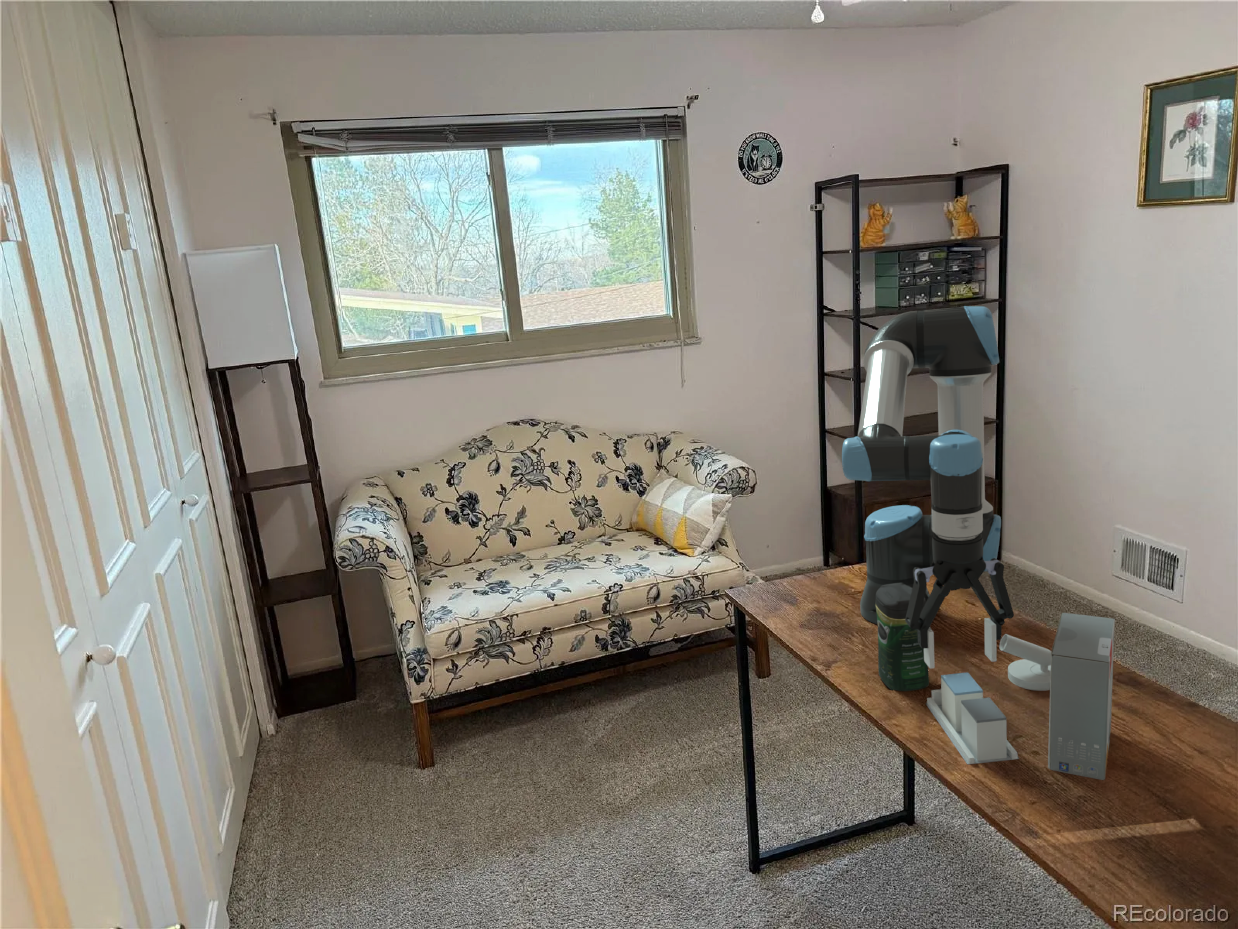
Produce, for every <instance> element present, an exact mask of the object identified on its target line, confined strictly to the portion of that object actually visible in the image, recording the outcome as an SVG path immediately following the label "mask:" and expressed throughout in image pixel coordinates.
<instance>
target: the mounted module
mask: <svg viewBox="0 0 1238 929" xmlns="http://www.w3.org/2000/svg"><path fill="white" fill-rule="evenodd" d="M961 721H962V740H963V742H964V743H965V744H966V746H967V747H968V749H969V750H970V751H971V753H972V754H973V756H974V757H975V758H976V760H977V761H983V760H992V759H1001V758H1007V741H1008V740H1007V717H1006V715H1005V714H1004V712H1002V710H1001V709H1000V708H999V707H998V706H997V704H996V703H995V702H994V701H993V700H992V698H991V697H983V698H979V699H970V700H961Z"/></svg>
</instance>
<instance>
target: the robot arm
mask: <svg viewBox="0 0 1238 929" xmlns="http://www.w3.org/2000/svg"><path fill="white" fill-rule="evenodd" d="M994 323H995V322H994V317H993V314H992V311H991V310H990V308H988V307H987V306H982V305H981V306H980V305H979V306H978V305H977V306H975V305H974V306H971V305H970V306H966V305H964V306H960V307H959V306H958V307H957V306H956V307H949V308H947V307H946V308H936V309H925V310H910V311H906V312H903V313H900V314H898V315H895V316H894V317H892V318H890V319H889V320H888V321H886V322H884V324H883V325H881V326H880V327H878V329H876V331H875V332H874V333H873V335H872V336H871V337H870V339H869V341H868V343H867V345H866V347H865V349H864V353H863V360H862V362H863V363H862V364H863V367H864V369H865V372H866V377H865V384H864V389H863V397H862V403H861V411H860V417H859V424H858V430H857V436H854V437H847V438H846V439H844V440H843V443H842V448H841V449H842V450H841V465H842V472H843V476H845V479H847V480H849V481H862V482H863V481H865V482H882V481H883V482H884V481H885V482H886V481H889V482H890V481H930V493H931V495H930V497H931V503H930V504H931V514H923V511H922V510H921V508H920V507H918V506H917V505H916V506H915V505H911V504H910V505H908V504H902V505H892V506H887V507H883V508H880V509H878V510H875V511H873V512H872V513H870V514H869V515H868V516H867V517H866V520H865V522H864V535H863V538H864V541H865V557H866V559H865V560H866V582H865V585H864V588H863V591H862V595H861V597H860V598H861V599H860V602H859V605H860V609H859V610H860V614H861V616H862V617H863V618H864V619H865V620H866V621H868V622H870V623H873V624H876V625H878V621H877V612H876V604H875V602H876V592H877V590H878V589H879V588H880V587H881V586H882V585H886V584H894V583H903V584H905V585H907V586H909V587H911V588H912V592H911V597H910V601H909V605H908V609H907V614H906V618H905V621H906V623H907V624H908V625H909V627H910V628H911V629H917V632H918V644H919V645H920V647H921V648H922V649H924V661H925V663H926V664H927V665H928V669H930V670H931V669H935V667H936V666H935V634H934V630H932V628H931V625H932V623H933V621H934V620H935V618H936V615H937V614H938V613H939V610H940V608H941V606H942V604H943V603H944V600H945V599H946V597H948V596H949V594H950V592H952V591H957V590H960V589H961V590H969V589H970V590H971V589H972V591H973V592H974V594H975V596H976V597H977V599H978V600H979V602H980V603H981V605H982V607H983V608H984V610H985V611H986V613H987V615H988V617H985V618H983V619H984V627H983V628H984V655H985V656H986V657H987V658H988V659H989V660H990V662H997V641H1001V639H1002V637H1003V635H1002V634H1003V633H1002V630H1003V629H1002V626H1004V625H1005V623H1006V619H1009V620H1011V619H1013V618H1014V617H1015V613H1014V610H1013V607H1012V603H1011V599H1010V596H1009V593H1008V590H1007V586H1006V585H1007V584H1006V583H1005V579H1004V573H1005V572H1004V570H1005V568H1004V567H1005V565H1004V564H1003V563H1002V562H1001V561H1000V560H998V559H997V558H998V554H999V553H998V552H999V546H1000V538H1001V527H1002V519H1001V518H1002V517H1001V516H1000V515H998V514H994V507H993V505H992V504H991V503H990V502H989V501H987V500H986V492H985V490H986V486H985V485H986V482H985V480H986V479H985V473H986V472H985V419H984V418H985V417H984V416H985V415H984V414H985V412H984V411H985V410H984V408H985V406H984V404H985V403H984V383H985V381H986V380H987V379H988V378H989V377H990V376H991V375H992V365H993V366H996V365H997V364H999V363H1000V356H999V349H998V342H997V336H996V335H997V334H996V330H995V324H994ZM913 369H928V370H929V373H928V374H929V378H930V379H931V380H932V381H933V382H934V383H936V385H937V420H938V422H937V423H938V424H937V425H938V435H935V434H934V435H912V436H911V435H903V430H904V420H905V408H906V406H905V405H906V395H907V394H906V392H907V382H908V380H907V379H908V375H909V374H910V373H911V372H912V370H913ZM984 572H986V573H988V574H989V578H990V581H991V584H992V587H993V590H994V594H995V598H996V601H997V605H998V607H999V609H997V607H996V605H995V604H994V603H993V601H992V600H991V598H990V596H989V594H988V593H987V592H986V591H987V590H985V587H984V586H983V584H982V583H981V581H980V578H981V576H982V575H983V573H984ZM931 576H934V577H935V581H934V582H933V586H932V590H931V592H929V590H928V587H927V586H928V585H927V584H928V583H929V582H930V579H931ZM924 598H925V600H926V603H925V605H924V607H923V609H922V605H923V601H924ZM921 609H922V611H921Z"/></svg>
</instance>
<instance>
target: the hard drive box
mask: <svg viewBox="0 0 1238 929" xmlns="http://www.w3.org/2000/svg"><path fill="white" fill-rule="evenodd" d="M1115 622H1116V620H1115V618H1111V617H1105V616H1103V617H1102V616H1094V615H1087V614H1078V613H1069V612H1062V613H1061V615H1060V616H1059V620H1058V624H1057V630H1056V632H1055V637H1054V640H1053V644H1052V647H1051V651H1052V652H1051V675H1050V690H1049V714H1048V715H1049V717H1048V718H1049V719H1048V723H1049V724H1048V751H1047V752H1048V754H1047V756H1048V757H1047V765H1048V766H1047V768H1048V769H1049V770H1050V771H1054V772H1060V773H1064V774H1070V775H1074V776H1075V775H1076V776H1081V777H1084V778H1085V777H1086V778H1091V779H1096V780H1101V781H1105V779H1106V775H1107V768H1108V767H1107V766H1108V759H1109V757H1108V756H1109V748H1110V740H1111V739H1110V738H1111V730H1112V708H1113V706H1112V704H1113V677H1114V676H1113V674H1114V673H1113V672H1114V647H1115V645H1114V644H1115Z"/></svg>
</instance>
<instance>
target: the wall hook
mask: <svg viewBox="0 0 1238 929" xmlns="http://www.w3.org/2000/svg"><path fill="white" fill-rule="evenodd" d="M999 650H1000V651H1002V652H1005V653H1007V654H1010V655H1013V656H1015V657H1018V658H1021V659H1018V660H1015V661H1013V662H1011V663H1010V664H1008V667H1007V678H1008V679H1009V681H1010V682H1011V683H1012V684H1014V685H1015V686H1016V687H1019V688H1022V689H1026V690H1029V691H1030V690H1031V691H1038V692H1040V691H1044V692H1045V691H1050V675H1051V652H1052V650H1050V649H1048V648H1046V647H1043V646H1040V645H1038V644H1035V643H1032V642H1029V641H1026V640H1023V639H1020V638H1018V637H1015V636H1012V635H1010V634H1008V633H1005V634H1004V635H1002V637H1001V640H999Z"/></svg>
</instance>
